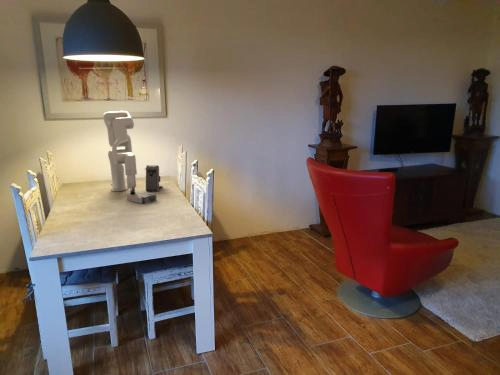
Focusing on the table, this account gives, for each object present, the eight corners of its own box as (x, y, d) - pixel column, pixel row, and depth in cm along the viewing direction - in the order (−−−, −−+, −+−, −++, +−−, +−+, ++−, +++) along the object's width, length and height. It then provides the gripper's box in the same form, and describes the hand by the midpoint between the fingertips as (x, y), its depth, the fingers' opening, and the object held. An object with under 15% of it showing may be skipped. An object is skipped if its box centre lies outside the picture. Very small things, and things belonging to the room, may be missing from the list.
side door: (126, 199, 262) (126, 193, 261) (128, 199, 263) (127, 193, 262) (142, 204, 252) (142, 197, 251) (144, 203, 253) (143, 197, 252)
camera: (164, 191, 298) (164, 166, 298) (157, 191, 281) (157, 165, 281) (151, 191, 299) (151, 166, 299) (143, 191, 282) (143, 165, 282)
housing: (133, 201, 260) (133, 193, 258) (145, 197, 268) (144, 190, 266) (145, 204, 252) (145, 196, 251) (157, 200, 260) (156, 193, 259)
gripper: (127, 170, 265) (129, 195, 270) (123, 174, 251) (126, 201, 255) (138, 169, 266) (140, 194, 271) (135, 174, 252) (137, 200, 257)
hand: (133, 197), depth 263 cm, fingers closed
